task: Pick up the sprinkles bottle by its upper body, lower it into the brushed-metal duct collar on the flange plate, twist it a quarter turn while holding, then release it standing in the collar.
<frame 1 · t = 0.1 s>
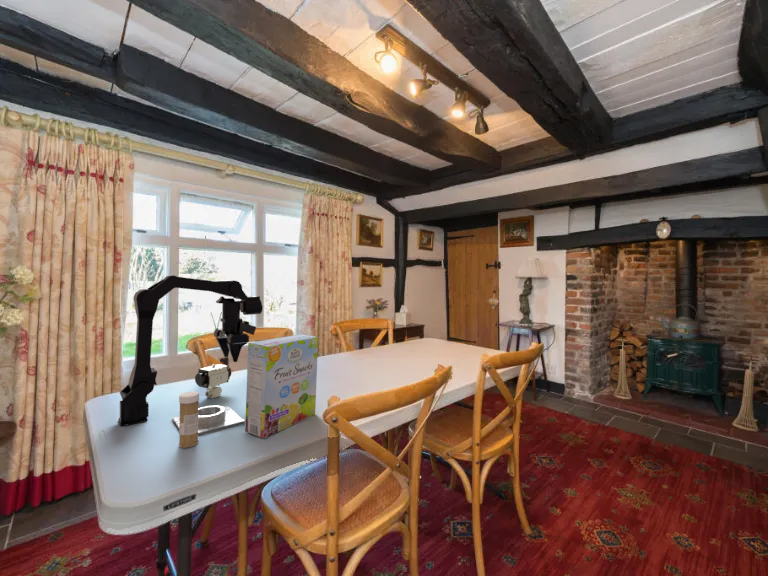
hand: (230, 359, 124), 15 cm above the table, fingers open, 9 cm apart
pneumatic valve: (214, 397, 127), on the table
sprinkles bottle: (188, 445, 91), on the table
duct flange: (208, 421, 105), on the table
snack box: (283, 423, 106), on the table
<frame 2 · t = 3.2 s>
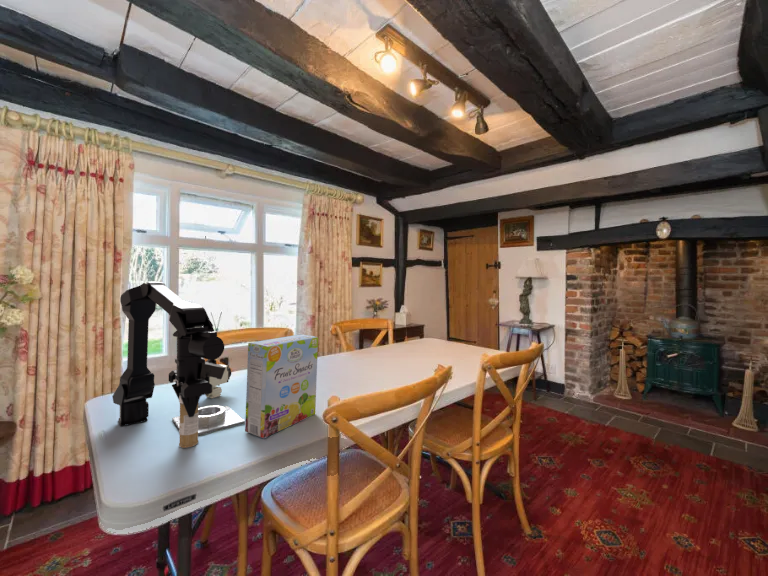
hand: (189, 414, 91), 8 cm above the table, fingers closed on sprinkles bottle, 4 cm apart
sprinkles bottle: (188, 445, 91), on the table, touching gripper
everything else where it was.
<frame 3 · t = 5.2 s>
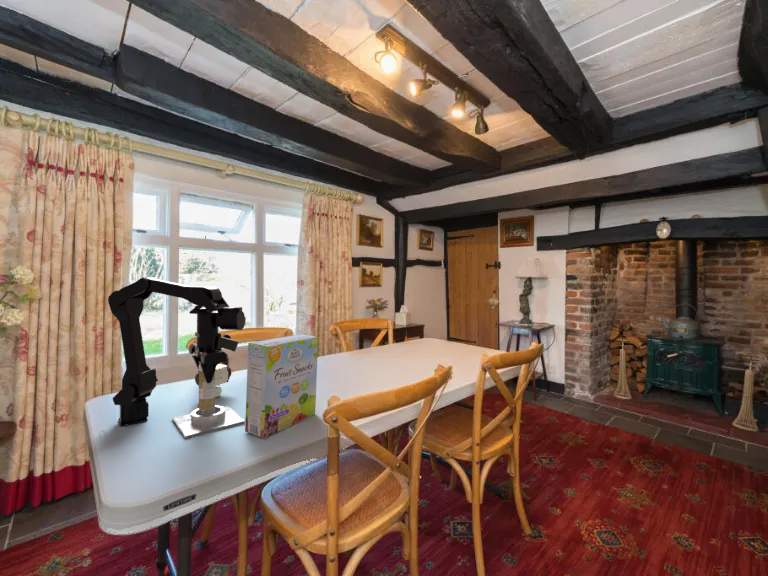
hand: (206, 381, 104), 13 cm above the table, fingers closed on sprinkles bottle, 4 cm apart
sprinkles bottle: (206, 408, 104), point 5 cm above the table, touching gripper
everything else where it was.
when the fingers open (10 cm above the table, at t = 7.3 s): sprinkles bottle drops 1 cm, resting on duct flange.
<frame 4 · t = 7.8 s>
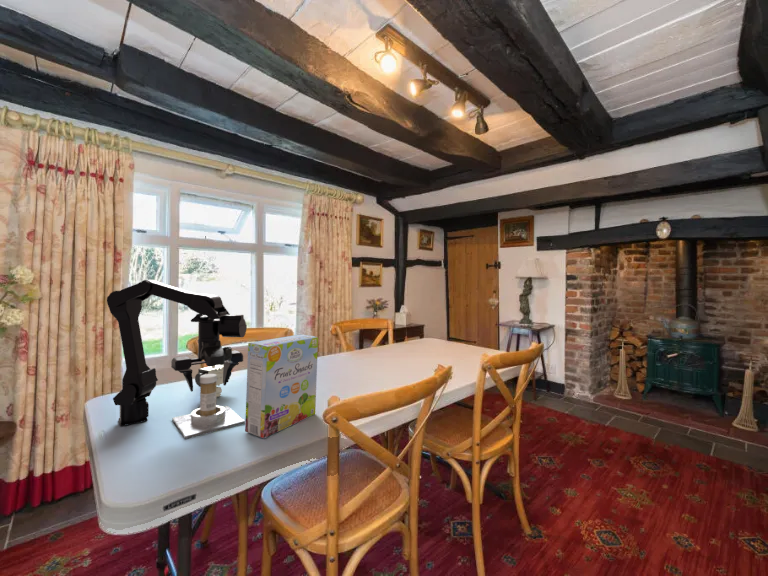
hand: (208, 388, 105), 10 cm above the table, fingers open, 9 cm apart
sprinkles bottle: (208, 419, 105), point 1 cm above the table, touching duct flange
everything else where it was.
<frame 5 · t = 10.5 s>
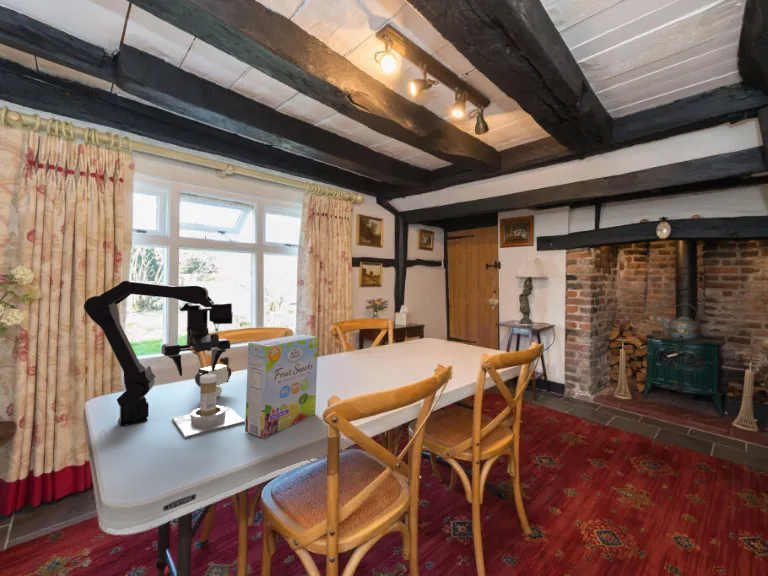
hand: (197, 373, 111), 13 cm above the table, fingers open, 9 cm apart
nothing on the table moved.
at the end: sprinkles bottle 0.1 cm off-centre on the duct flange, point 0.6 cm above the duct flange's base; sprinkles bottle tilted 0°; the gripper is holding nothing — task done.
